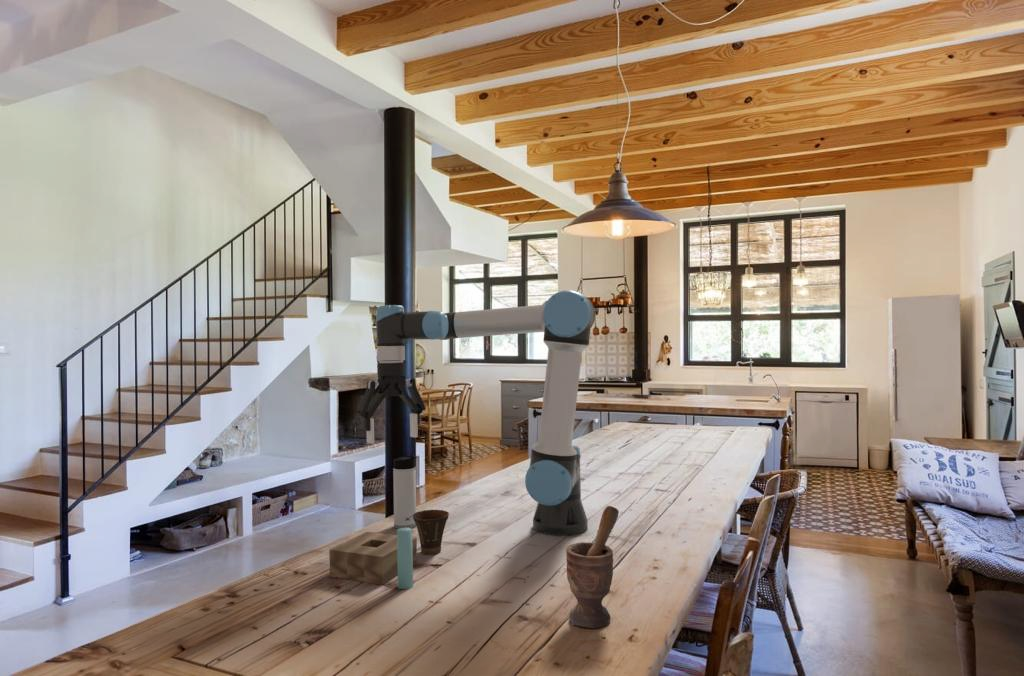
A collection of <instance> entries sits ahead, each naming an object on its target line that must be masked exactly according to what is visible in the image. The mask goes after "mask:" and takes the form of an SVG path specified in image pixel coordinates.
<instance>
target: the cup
mask: <svg viewBox="0 0 1024 676" xmlns="http://www.w3.org/2000/svg"><path fill="white" fill-rule="evenodd" d="M449 515H450V512H448V511H447V510H443V509H425V510H421V511H416V513H415V514H413V519H414V521H415V524H416V526H415V527H416V530H417V533H418V537H419V543H420V553H422V554H423V555H436V554H439V553H441V552H442V542H443V535H444V531H445V528H446V523H447V521H448V519H449V517H450V516H449Z"/></svg>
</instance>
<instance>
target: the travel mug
mask: <svg viewBox="0 0 1024 676" xmlns="http://www.w3.org/2000/svg"><path fill="white" fill-rule="evenodd" d="M417 458H418V457H417V455H415V454H413V455H405V456H400V457H397V458H395V459H393V463H392V464H393V468H392V470H393V471H392V473H393V474H392V476H393V477H392V478H393V485H392V486H393V527H394V528H395V529H397V530H398V529H400V528H411V529H413V528H415V527H416V524H415V521H414V519H413V514H415V513H416V512H417V480H416V479H417V475H416V473H417V471H416V470H417V469H416V468H417V467H416V459H417Z"/></svg>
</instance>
